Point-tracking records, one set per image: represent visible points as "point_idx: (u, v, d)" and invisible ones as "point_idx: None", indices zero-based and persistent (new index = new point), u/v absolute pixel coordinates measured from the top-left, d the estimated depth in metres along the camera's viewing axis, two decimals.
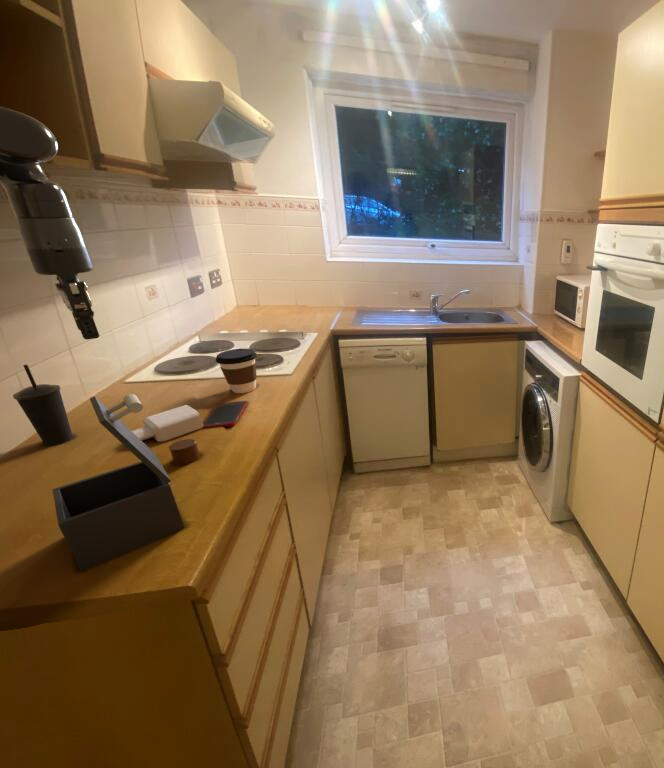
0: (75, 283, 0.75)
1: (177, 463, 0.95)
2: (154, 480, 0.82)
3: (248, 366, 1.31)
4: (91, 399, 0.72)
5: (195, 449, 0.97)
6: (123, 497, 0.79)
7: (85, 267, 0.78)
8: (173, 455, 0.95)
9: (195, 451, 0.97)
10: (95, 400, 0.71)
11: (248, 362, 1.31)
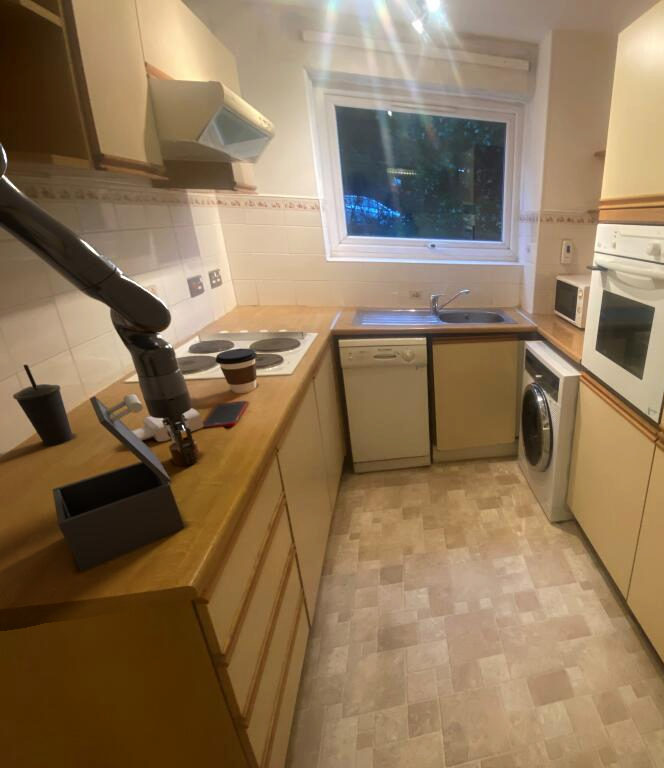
0: (185, 430, 0.90)
1: (177, 463, 0.95)
2: (154, 480, 0.82)
3: (248, 366, 1.31)
4: (91, 399, 0.72)
5: (195, 449, 0.97)
6: (123, 497, 0.79)
7: (188, 407, 0.93)
8: (173, 455, 0.95)
9: (195, 451, 0.97)
10: (95, 400, 0.71)
11: (248, 362, 1.31)
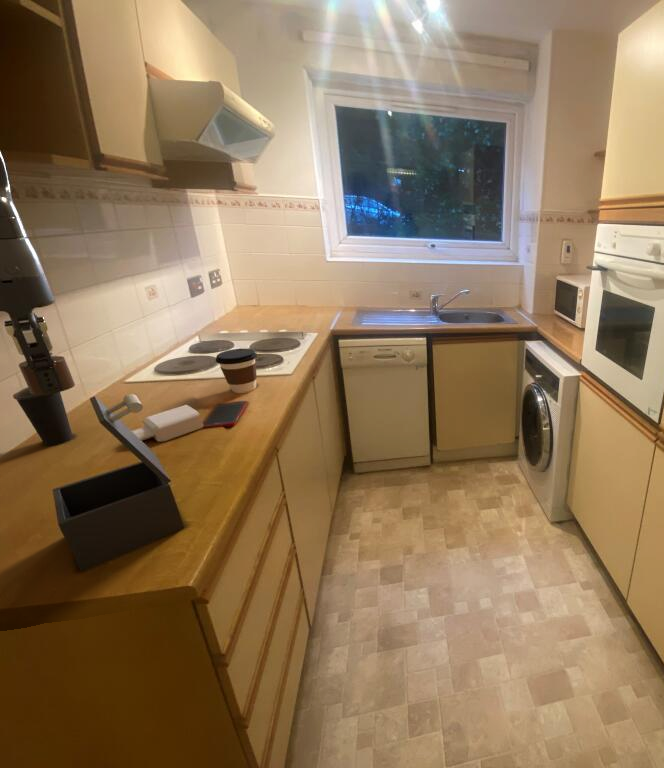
0: (31, 331, 0.58)
1: (31, 388, 0.63)
2: (154, 480, 0.82)
3: (248, 366, 1.31)
4: (91, 399, 0.72)
5: (63, 369, 0.65)
6: (123, 497, 0.79)
7: (43, 300, 0.61)
8: (24, 376, 0.63)
9: (62, 372, 0.65)
10: (95, 400, 0.71)
11: (248, 362, 1.31)
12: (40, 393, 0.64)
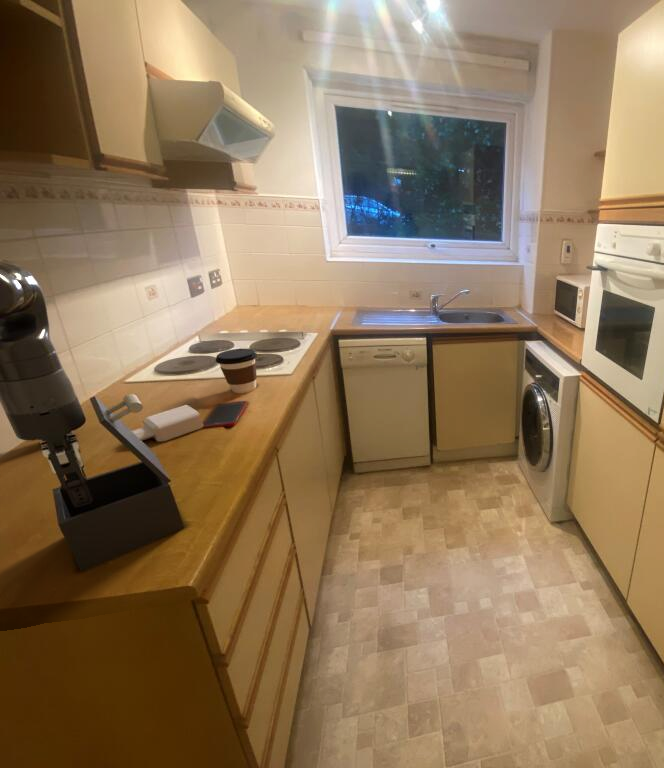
0: (64, 452, 0.62)
1: None
2: (154, 480, 0.82)
3: (248, 366, 1.31)
4: (91, 399, 0.72)
5: None
6: (123, 497, 0.79)
7: (76, 424, 0.65)
8: None
9: None
10: (95, 400, 0.71)
11: (248, 362, 1.31)
12: None
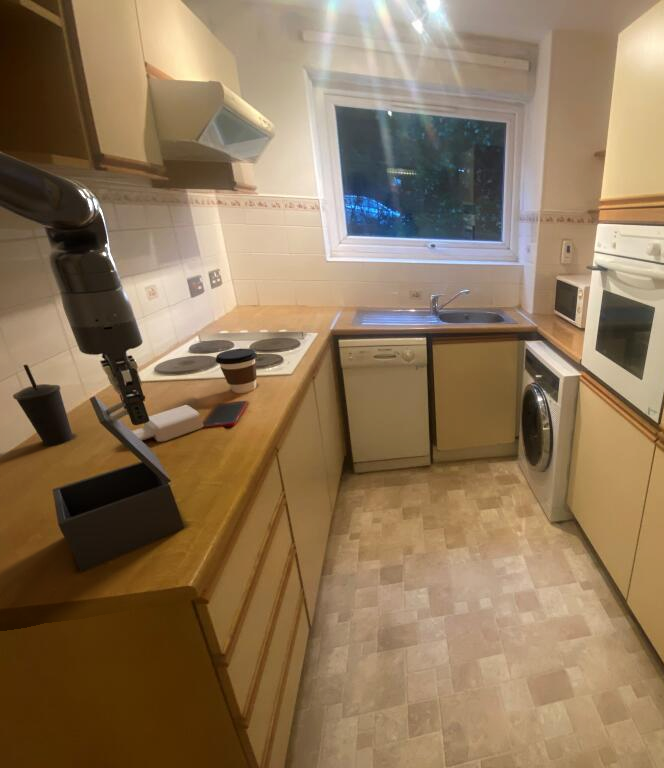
0: (128, 371, 0.65)
1: None
2: (154, 480, 0.82)
3: (248, 366, 1.31)
4: (91, 399, 0.72)
5: None
6: (123, 497, 0.79)
7: (135, 342, 0.68)
8: None
9: None
10: (95, 400, 0.71)
11: (248, 362, 1.31)
12: None
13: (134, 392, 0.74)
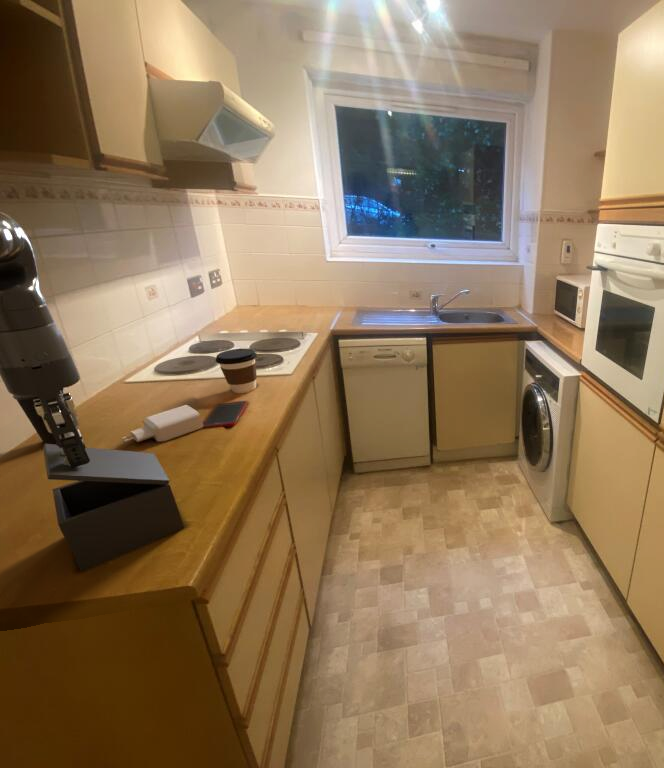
0: (60, 413, 0.61)
1: None
2: None
3: (248, 366, 1.31)
4: (43, 448, 0.69)
5: None
6: (123, 497, 0.79)
7: (70, 381, 0.64)
8: None
9: None
10: (45, 449, 0.68)
11: (248, 362, 1.31)
12: None
13: None
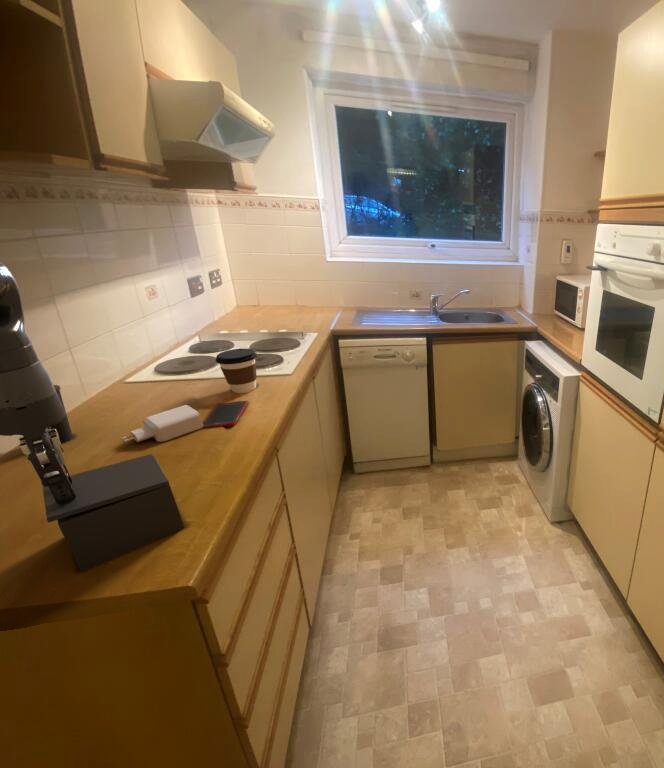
0: (45, 453, 0.61)
1: None
2: None
3: (248, 366, 1.31)
4: (43, 488, 0.70)
5: None
6: None
7: (55, 419, 0.63)
8: None
9: None
10: (43, 489, 0.69)
11: (248, 362, 1.31)
12: None
13: None
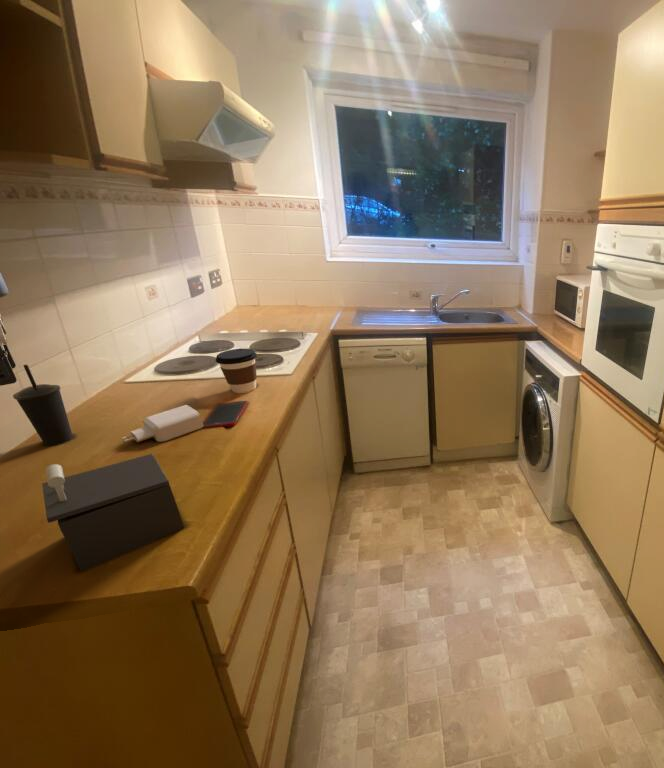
0: None
1: None
2: None
3: (248, 366, 1.31)
4: None
5: None
6: None
7: None
8: None
9: None
10: (43, 490, 0.69)
11: (248, 362, 1.31)
12: None
13: (4, 345, 0.66)
